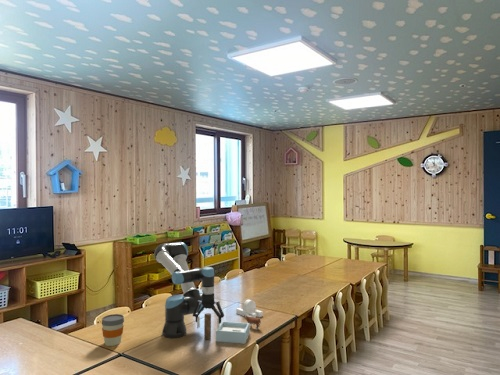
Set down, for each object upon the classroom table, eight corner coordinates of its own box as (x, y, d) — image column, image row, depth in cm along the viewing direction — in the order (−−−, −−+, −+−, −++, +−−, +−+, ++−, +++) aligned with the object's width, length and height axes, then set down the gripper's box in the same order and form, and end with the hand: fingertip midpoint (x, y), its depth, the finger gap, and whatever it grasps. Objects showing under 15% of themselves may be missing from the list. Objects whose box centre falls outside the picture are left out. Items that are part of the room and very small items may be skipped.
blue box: (215, 341, 221) (215, 330, 221) (222, 331, 237) (222, 321, 237) (244, 343, 218) (245, 332, 218) (249, 333, 234) (249, 323, 234)
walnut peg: (203, 339, 223) (203, 315, 223) (205, 337, 227) (205, 313, 227) (209, 340, 222) (210, 315, 222) (211, 337, 226) (211, 313, 226)
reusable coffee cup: (114, 336, 226) (114, 312, 227) (128, 341, 220) (128, 316, 220) (96, 344, 216) (97, 318, 216) (111, 349, 209) (111, 322, 209)
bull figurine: (246, 324, 249) (246, 312, 249) (261, 329, 241) (261, 316, 241) (242, 326, 246) (242, 314, 246) (257, 331, 237) (257, 318, 238)
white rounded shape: (262, 316, 266) (262, 301, 266) (253, 319, 259) (253, 304, 259) (245, 310, 278) (245, 296, 279) (236, 313, 272) (236, 298, 272)
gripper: (187, 294, 223) (187, 329, 223) (226, 295, 219) (226, 331, 219) (191, 290, 231) (191, 325, 230) (228, 292, 227) (229, 326, 226)
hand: (208, 328), depth 224 cm, fingers open, 12 cm apart
